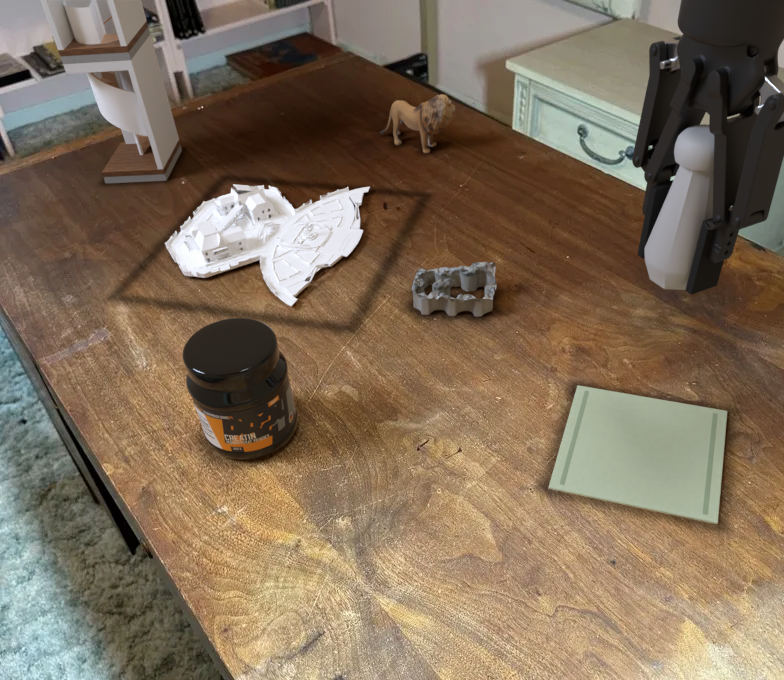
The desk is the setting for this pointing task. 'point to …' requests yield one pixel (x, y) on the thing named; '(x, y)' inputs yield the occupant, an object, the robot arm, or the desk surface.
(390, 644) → the desk surface
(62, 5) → the tiered tower model
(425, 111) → the lion figurine
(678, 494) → the napkin
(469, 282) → the egg carton
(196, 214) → the architectural model
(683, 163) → the salt shaker
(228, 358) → the supplement container
